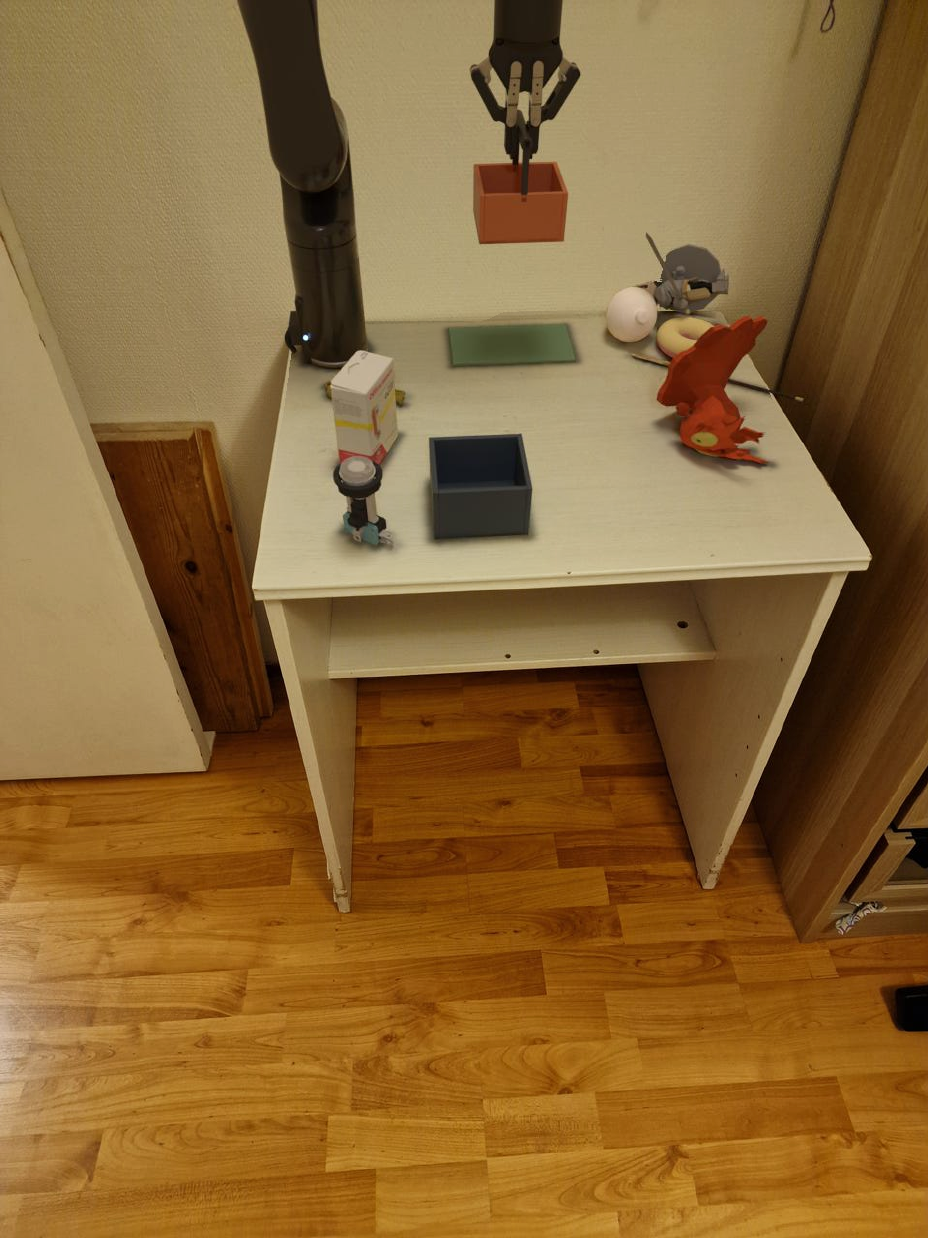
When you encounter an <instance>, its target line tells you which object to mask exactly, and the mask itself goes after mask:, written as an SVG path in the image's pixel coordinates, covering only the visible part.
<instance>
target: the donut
mask: <svg viewBox="0 0 928 1238" xmlns="http://www.w3.org/2000/svg"><path fill="white" fill-rule="evenodd" d="M713 326H715V325H714V324H713V323H711V322H708V321H707V320H704V319H701V318H697V317H689V316H678V317H677V316H676V317H673V318H669V319H668V320H666V321H664V322H663V323H662V324H661V325H660V327H659V328H658V330H657V333H656V342H657V344H658V347H659V348H660V350H661V351H662V352H663V353H665V355H667V356H669V357H670V358H672V359H673V358H674V357H675V356H676V355H678V354H679V353H680V352H682V351H686V350H688V349H689V348H691V347H692V346H693V345H694V344H695V343H696V342H697V340H698V339H699V338H700V337H701V335H702V334H704V333H705V332H706V331H707V330H708V329H709V328H711V327H713Z"/></svg>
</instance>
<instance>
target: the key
mask: <svg viewBox="0 0 928 1238" xmlns="http://www.w3.org/2000/svg"><path fill="white" fill-rule="evenodd" d="M331 381H332V380H328V381H326V382H325V383H324V387H325V389H326V394H327V397H328V398H330V399H332V396H331V388H330V385H331ZM405 395H406V391H405V390H401V389H396V388H395V398H396V404H398V405H401V406H402V405H403V403H404V401H405V399H404V396H405Z"/></svg>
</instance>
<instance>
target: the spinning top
mask: <svg viewBox="0 0 928 1238" xmlns="http://www.w3.org/2000/svg"><path fill="white" fill-rule="evenodd" d="M657 319H658V305H656V302H655V300H654V298H653V297H652V295H651V294H650V293H649V292H647V291H646V290H644V289H642V288H638V287H633V286H630V287H626V288H623V289H621V290H619V291H618V292H616V293H615V294H614V295H613V296H612V298H611V299H610V301H608V304H607V306H606V309H605V324H606V327H607V329H608V331H609V332H610V334H611V335H612V336H613V337H614V338H615V339H617V340H619V341H621V342H624V343H635V342H639V341H641V340H643V339H644V338H646V337H647V336H648V335H649V334H650V333H651V332H652V330H653V329H654V327H655V325H656V323H657Z"/></svg>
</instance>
